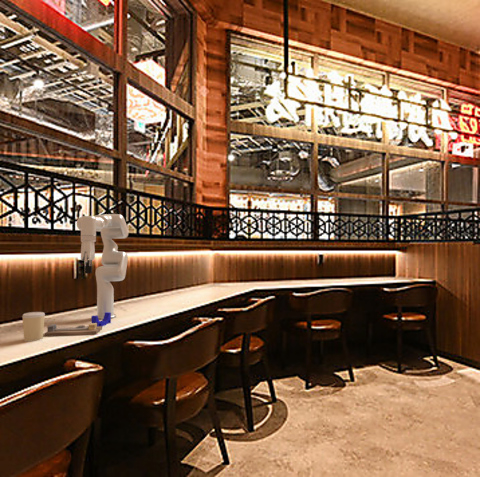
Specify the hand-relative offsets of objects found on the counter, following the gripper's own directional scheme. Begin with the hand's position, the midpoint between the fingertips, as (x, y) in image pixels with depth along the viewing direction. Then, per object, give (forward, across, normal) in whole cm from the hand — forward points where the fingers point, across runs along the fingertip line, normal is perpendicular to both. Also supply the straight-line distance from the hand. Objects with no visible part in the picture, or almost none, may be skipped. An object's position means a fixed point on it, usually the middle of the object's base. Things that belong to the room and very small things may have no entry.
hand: (88, 273), depth 197 cm
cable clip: (+30, -7, +6) cm, 31 cm away
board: (+29, +10, -4) cm, 31 cm away
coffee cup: (+29, +21, -19) cm, 41 cm away
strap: (+27, +10, -5) cm, 30 cm away
